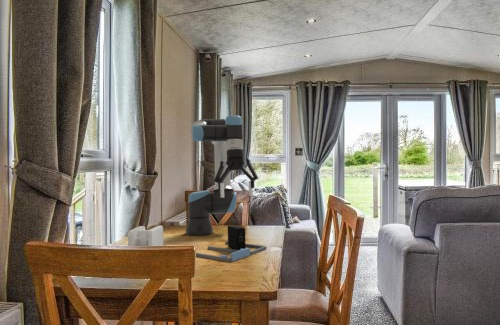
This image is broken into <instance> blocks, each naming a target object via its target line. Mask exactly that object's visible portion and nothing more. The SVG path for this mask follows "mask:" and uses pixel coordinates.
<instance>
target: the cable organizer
mask: <svg viewBox="0 0 500 325" xmlns="http://www.w3.org/2000/svg"><path fill="white" fill-rule="evenodd" d="M126 235H127V247H128V246H162V245H163V246H164V226H163V225H156V226H154V227H153V228H150V229H146V227H145V225H139V226H137V227H135V228H133V229H130V230H129V231H128V233H127V234H126Z"/></svg>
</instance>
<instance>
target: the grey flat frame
mask: <svg viewBox="0 0 500 325" xmlns="http://www.w3.org/2000/svg"><path fill="white" fill-rule="evenodd" d="M225 245H228V240H226V241H225ZM245 245H246V249H240V250H234V249H230V248H225V247H218V246H212V245H211V246H210V245H208V246H207V250H211V251H212V250H213V251H219V252H224V253H230V257H228V255H227V254H221V255H212V254H206V253H200V252H195V253H196V256H195V257H197V258H203V259H211V260H215V261H222V262H223V261H224V262H229V263H230V262H235V261H237V260H240V259H241V260H242V259H244V258H247V257H249V256H252V255H255V254H256V253H260V252H263V251H266V250H267V246H266V245H260V244H253V243H246V242H245ZM251 248H255V249H254V250H253V249H252V250H251Z"/></svg>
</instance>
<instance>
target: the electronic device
mask: <svg viewBox="0 0 500 325" xmlns="http://www.w3.org/2000/svg"><path fill="white" fill-rule="evenodd" d="M227 241H228V244H227V247H228V249H234V250H240V249H246V248H247V247H246V245H245V243H246V228H245V227H244V226H241V225H237V224H235V225H234V224H233V225H228V226H227Z"/></svg>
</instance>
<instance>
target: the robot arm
mask: <svg viewBox="0 0 500 325" xmlns="http://www.w3.org/2000/svg"><path fill="white" fill-rule="evenodd" d="M189 129H190V134H191V139H192V141H194V142H211V144H212V145H213V146H214V148H213V149H214V150H213V151H214V175H215V176H214V177H215V178H214V180H213V181H214V182H215V183H214V184H215V187H214V188H213V189H212V192H210V190H208V189H206V190H200V191H194V192H191V193H189V194H188V198H187V199H188V200H187V202H188V222H187V224H186V228H185V234H186V236H187V235H188V236H197V237H198V236H208V235H213V234H214V228H213V224H212V222H211V216H210V215H211V214H212V215H214V214H215V215H216V214H219V215H220V214H231V213H234V212H235V210H236V208H237V202H238V195H237V192H235V190H234V187H232V185H231V172H232V171H242V172H243V174H244V175H245V176H246V177H247V178H248V179H249V180H248V193H249V194H248V195H249V197H253V195H254V194H253V193H254V192H253V191H254V189H255V181H256V180H258V179H259V176H258V174H257V173H256V171H255V169H254V167H253V165H252V161H251V159H249V158H246V159H244V150H243V149H244V140H243V138H244V136H243V119H242V117H241V116H240V115H237V114H236V115H233V114H232V115H231V114H230V115H228V116H226V117H225V119H224V118H204V119H199V120H195V121H194V122H193V123H191V125H190V128H189ZM244 165H246V166H247V167H248V169H249V171H250V172H249V171H248V170H247V169H246V168H245V166H244ZM250 173H251V174H250Z"/></svg>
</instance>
